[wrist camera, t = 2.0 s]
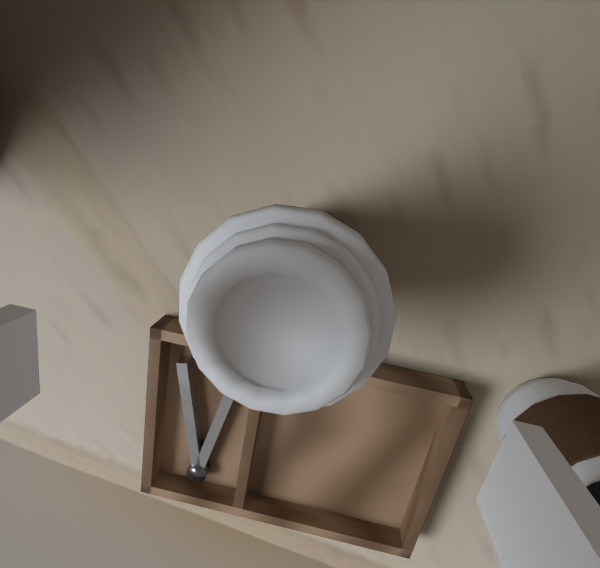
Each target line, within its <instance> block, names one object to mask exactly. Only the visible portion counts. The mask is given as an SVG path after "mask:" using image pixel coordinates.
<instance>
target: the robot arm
mask: <svg viewBox="0 0 600 568" xmlns="http://www.w3.org/2000/svg"><path fill="white" fill-rule="evenodd" d="M39 393H40V383H39V363H38V342H37V322H36V310H34V309H29V308H25V307H21V306H16V305H12V304H9V305H7V306H5V307H2V308H0V422H1V421H3V420H4V419H5V418H7V417H8V416H9V415H11V414H12V413H13V412H15V411H16V410H18V409H19V408H20V407H22V406H23V405H24V404H26V403H27V402H28V401H30V400H31V399H32V398H34V397H35V396H36V395H38V394H39ZM476 500H477V503H478V506H479V508H480V511H481V514H482V516H483V519H484V522H485V524H486V527H487V530H488V532H489V535H490V538H491V540H492V543H493V545H494V548H495V551H496V553H497V556H498V559H499V561H500V564H501V567H502V568H600V506H599V504H598V503H597V502H596V500H595V499H594V498H593V496H592V495H591V493H590V492H589V491H588V489H587V488H586V487H585V485H584V484H583V482H582V481H581V480H580V478H579V477H578V476H577V474H576V473H575V471H574V470H573V469H572V467H571V466H570V465H569V463H568V462H567V460H566V459H565V458H564V456H563V455H562V454H561V452H560V451H559V450H558V448H557V447H556V445H555V444H554V443H553V441H552V440H551V439H550V437H549V436H548V434H547V433H546V432H545V430H544V429H543V428H542V427H540V426H536V425H532V424H527V423H523V422H519V421H514V420H512V421H511V423H510V425H509V427H508V430H507V432H506V434H505V436H504V439H503V441H502V443H501V445H500V448H499V450H498V452H497V454H496V457H495V459H494V461H493V463H492V465H491V468H490V470H489V472H488V474H487V477H486V479H485V481H484V483H483V486H482V488H481V490H480V492H479V495H478V497H477V499H476Z"/></svg>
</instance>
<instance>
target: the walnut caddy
mask: <svg viewBox="0 0 600 568" xmlns="http://www.w3.org/2000/svg"><path fill="white" fill-rule="evenodd" d="M182 356H189V357H192V360H193V368H194V376H195V383H196V391H197V399H198V407H199V414H200V422H201V430H202V438H203V444H204V441H205V439H206V436H207V434H208V432H209V429H210V427H211V424H212V422H213V419H214V417H215V414H216V412H217V410H218V407H219V405H220V402H221V400H222V397H223V395H224V394H222V393H221V392H220V391H219V390H218V389H217V388H216V387H215V386H214V384H213V383H212V382H211V381H210V380H209V379H208V378H207V377H206V376H205V374H204V373H203V372H202V371H201V370H200V369H199V368H198V366H197V363H196V360H195V359H194V358H193V356H192V353H191V351H190V348H189V346H188V343H187V341H186V338H185V335H184V333H183V330H182V328H181V325H180V323H179V318H177V317H172V316H168V315H164V316H163V317H162V318H161V319H160V320H158V321H157V322H156V323H155V324H154V325H153V326H151V327H150V342H149V359H148V377H147V394H146V412H145V430H144V447H143V465H142V482H141V492H145V493H149V494H153V495H157V496H161V497H165V498H169V499H173V500H177V501H181V502H185V503H189V504H193V505H197V506H201V507H205V508H209V509H213V510H217V511H221V512H225V513H229V514H233V515H237V516H241V517H245V518H249V519H253V520H257V521H261V522H265V523H269V524H273V525H277V526H281V527H285V528H289V529H293V530H297V531H301V532H305V533H309V534H313V535H317V536H321V537H325V538H329V539H333V540H337V541H341V542H345V543H349V544H353V545H357V546H361V547H365V548H369V549H373V550H377V551H381V552H385V553H389V554H393V555H397V556H401V557H405V558H409V559H410V556H411V554H412V551H413V549H414V546H415V544H416V541H417V539H418V536H419V534H420V531H421V529H422V526H423V524H424V521H425V519H426V516H427V514H428V511H429V509H430V506H431V504H432V501H433V499H434V497H435V494H436V492H437V489H438V487H439V484H440V482H441V479H442V477H443V474H444V472H445V469H446V467H447V464H448V462H449V459H450V457H451V454H452V452H453V449H454V447H455V444H456V442H457V439H458V437H459V434H460V432H461V429H462V427H463V424H464V422H465V419H466V417H467V414H468V412H469V409H470V407H471V404H472V402H473V399H472V397H471V395H470V393H469V391H468V389H467V387H466V385H465V384H464V382H463V381H459V380H455V379H450V378H446V377H441V376H437V375H432V374H428V373H423V372H419V371H414V370H410V369H405V368H401V367H396V366H392V365H387V364H383V363H381V364H380V365H379V367H378V368H377V369H376V371H375V372H374V373H373V375H372V376H371V377H370V379H369V380H368V381H367V382H366V384H365V385H364V386H363V387H362V388H360V389H358V390H356V391H355V392H353V393H351V394H350V395H348V396H346V397H344V398H343V399H341V400H339V401H337V402H336V403H334V404H332V405H330V406H326V407H322V408H321V409H319V410H315V411H309V412H303V413H296V414H290V415H280V414H274V413H269V412H263V411H257V410H252V409H249V408H248V407H246V406H244V405H242V404H240V403H239V402H237V401H235V400H233V403H232V405H231V407H230V410H229V412H228V414H227V417H226V419H225V422H224V424H223V426H222V429H221V431H220V433H219V436H218V438H217V441H216V443H215V445H214V448H213V450H212V452H211V455H210V457H209V459H208V460H209V462H210V464H211V467H210V469H209V472H208V474H207V476H206V478H205V480H204V481H202V482H194V481H192V480H190V479H189V478H188V476H187V470H188V468H189V466H190V464H191V463H190V456H189V449H188V442H187V435H186V429H185V422H184V415H183V408H182V401H181V394H180V387H179V380H178V373H177V366H176V362H177V361H178V360H179V359H180V358H181V357H182Z"/></svg>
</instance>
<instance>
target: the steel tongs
mask: <svg viewBox="0 0 600 568" xmlns="http://www.w3.org/2000/svg"><path fill="white" fill-rule="evenodd" d="M176 366H177V373H178V380H179V387H180V394H181V401H182V408H183V415H184V422H185V429H186V435H187V442H188V449H189V456H190V463H191V464H190V466H189V468H188V470H187V476H188V478H189V479H190V480H192V481H194V482H202V481H204V480H205V478H206V476H207V474H208V472H209V469H210V467H211V464H210V462H209V460H208V459H209V457H210V455H211V452H212V450H213V448H214V445H215V443H216V441H217V438H218V436H219V433H220V431H221V429H222V426H223V424H224V422H225V419H226V417H227V414H228V412H229V410H230V407H231V405H232V403H233V399H231V398H230V397H228V396H226V395H223V397H222V400H221V402H220V405H219V407H218V410H217V412H216V414H215V417H214V419H213V422H212V424H211V427H210V429H209V432H208V434H207V436H206V439H205V441H204V444H203V438H202V430H201V422H200V414H199V407H198V399H197V391H196V383H195V376H194V368H193V360H192V357H189V356H182V357H181V358H180V359H179V360H178V361H177V362H176Z"/></svg>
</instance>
